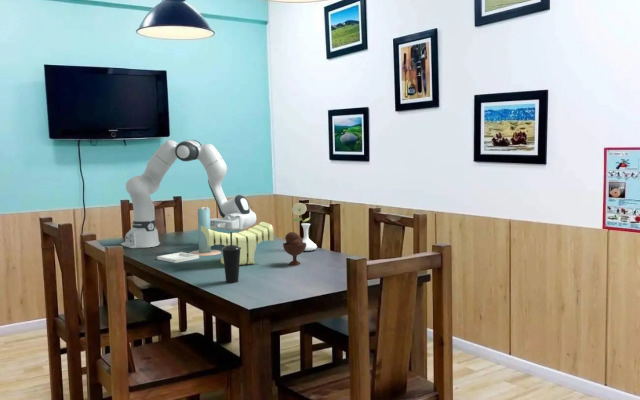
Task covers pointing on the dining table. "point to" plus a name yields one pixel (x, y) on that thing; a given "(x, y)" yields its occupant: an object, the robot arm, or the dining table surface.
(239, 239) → the slatted curved stool
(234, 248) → the drinking cup
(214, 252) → the terracotta plate
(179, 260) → the tray
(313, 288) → the dining table surface
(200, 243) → the teal cylinder
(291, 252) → the ice cream bowl
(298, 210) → the flower in vase
